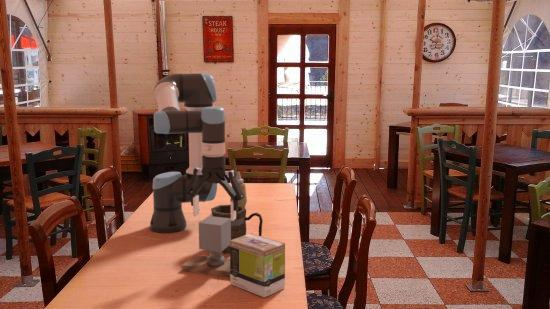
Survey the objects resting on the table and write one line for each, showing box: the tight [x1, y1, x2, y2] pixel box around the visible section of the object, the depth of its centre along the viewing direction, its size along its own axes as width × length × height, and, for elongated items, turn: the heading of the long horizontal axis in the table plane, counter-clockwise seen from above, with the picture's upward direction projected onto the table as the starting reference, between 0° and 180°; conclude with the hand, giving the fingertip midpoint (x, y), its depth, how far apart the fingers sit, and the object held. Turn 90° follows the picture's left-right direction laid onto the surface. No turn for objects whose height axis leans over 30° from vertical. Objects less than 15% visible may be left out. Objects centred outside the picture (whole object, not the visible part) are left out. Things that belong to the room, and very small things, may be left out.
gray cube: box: [198, 215, 231, 252], centre depth 166 cm, size 8×8×9 cm
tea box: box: [229, 233, 286, 299], centre depth 154 cm, size 15×10×15 cm, turn 48°
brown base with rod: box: [181, 250, 230, 279], centre depth 167 cm, size 20×10×16 cm, turn 72°
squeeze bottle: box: [230, 171, 248, 208], centre depth 240 cm, size 8×8×18 cm
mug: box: [210, 204, 264, 255], centre depth 187 cm, size 20×14×15 cm
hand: (214, 217), depth 165 cm, fingers open, 13 cm apart
